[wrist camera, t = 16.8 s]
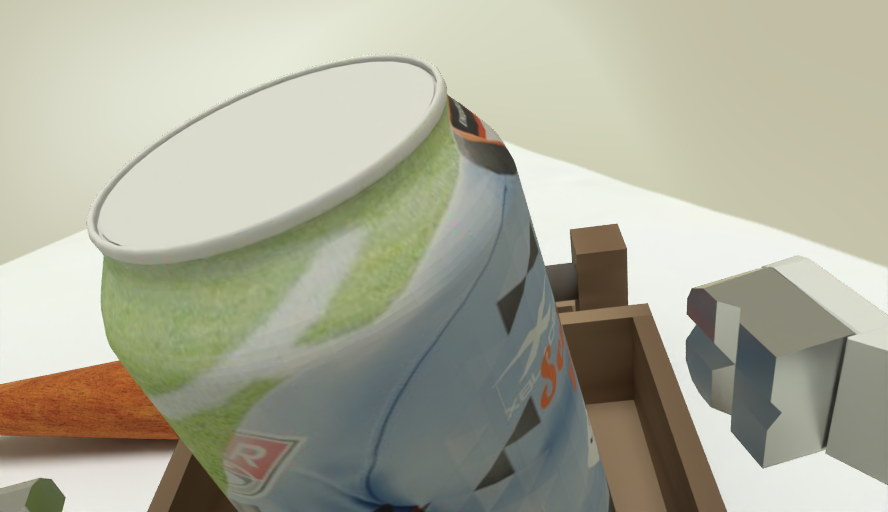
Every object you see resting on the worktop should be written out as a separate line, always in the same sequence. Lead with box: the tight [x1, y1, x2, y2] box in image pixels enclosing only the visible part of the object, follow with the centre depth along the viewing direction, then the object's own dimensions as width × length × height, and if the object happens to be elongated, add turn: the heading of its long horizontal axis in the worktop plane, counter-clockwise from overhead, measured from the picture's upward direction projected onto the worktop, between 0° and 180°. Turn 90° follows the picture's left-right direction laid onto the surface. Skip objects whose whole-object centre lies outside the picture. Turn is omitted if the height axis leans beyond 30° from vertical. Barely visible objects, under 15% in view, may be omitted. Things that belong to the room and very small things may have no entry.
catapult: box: [147, 224, 727, 512], centre depth 19 cm, size 12×18×6 cm, turn 179°
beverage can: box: [86, 54, 616, 512], centre depth 12 cm, size 6×7×12 cm
